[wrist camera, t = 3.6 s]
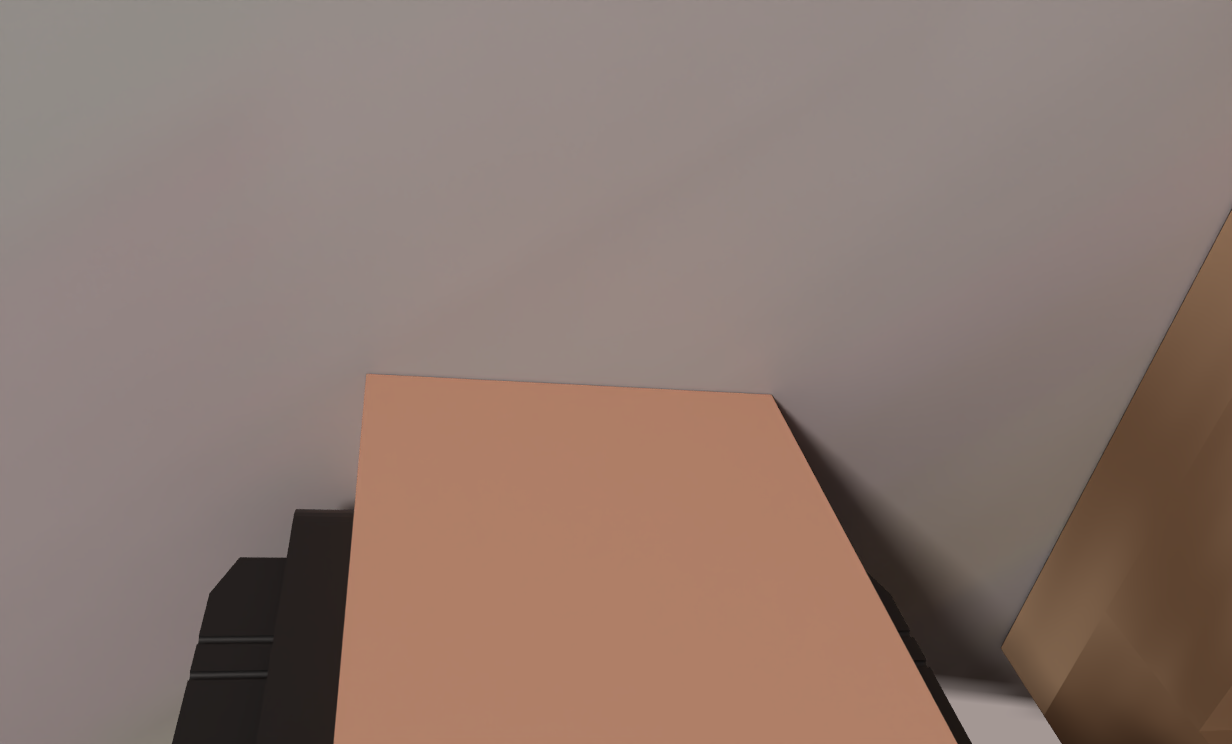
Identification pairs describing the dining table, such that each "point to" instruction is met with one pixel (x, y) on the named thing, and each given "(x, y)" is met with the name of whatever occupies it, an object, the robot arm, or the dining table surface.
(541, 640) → the block
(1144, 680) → the wooden tray
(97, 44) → the dining table surface
